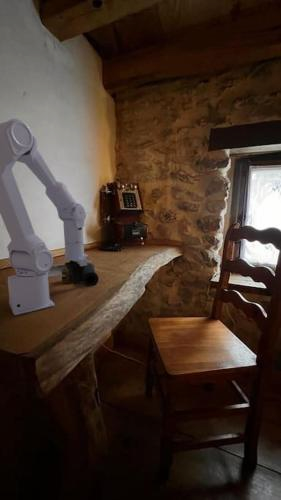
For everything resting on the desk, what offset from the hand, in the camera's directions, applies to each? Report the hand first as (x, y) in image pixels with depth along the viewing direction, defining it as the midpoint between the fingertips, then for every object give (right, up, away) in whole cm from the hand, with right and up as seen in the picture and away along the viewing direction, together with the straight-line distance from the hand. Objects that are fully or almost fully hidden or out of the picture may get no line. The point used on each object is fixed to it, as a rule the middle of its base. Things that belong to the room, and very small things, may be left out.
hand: (76, 283), depth 74 cm
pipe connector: (-1, -1, +8) cm, 8 cm away
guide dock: (-8, +1, +17) cm, 18 cm away
